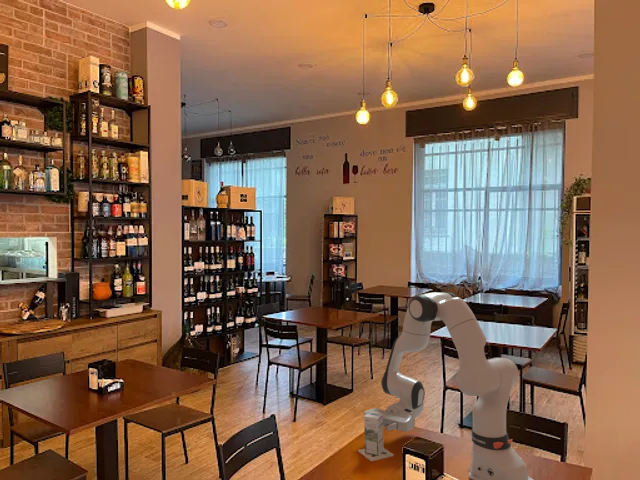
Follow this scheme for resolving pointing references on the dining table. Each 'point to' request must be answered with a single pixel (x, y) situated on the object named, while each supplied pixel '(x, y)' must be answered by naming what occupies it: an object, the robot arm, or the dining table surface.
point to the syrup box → (373, 433)
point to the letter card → (374, 457)
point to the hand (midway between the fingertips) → (376, 425)
